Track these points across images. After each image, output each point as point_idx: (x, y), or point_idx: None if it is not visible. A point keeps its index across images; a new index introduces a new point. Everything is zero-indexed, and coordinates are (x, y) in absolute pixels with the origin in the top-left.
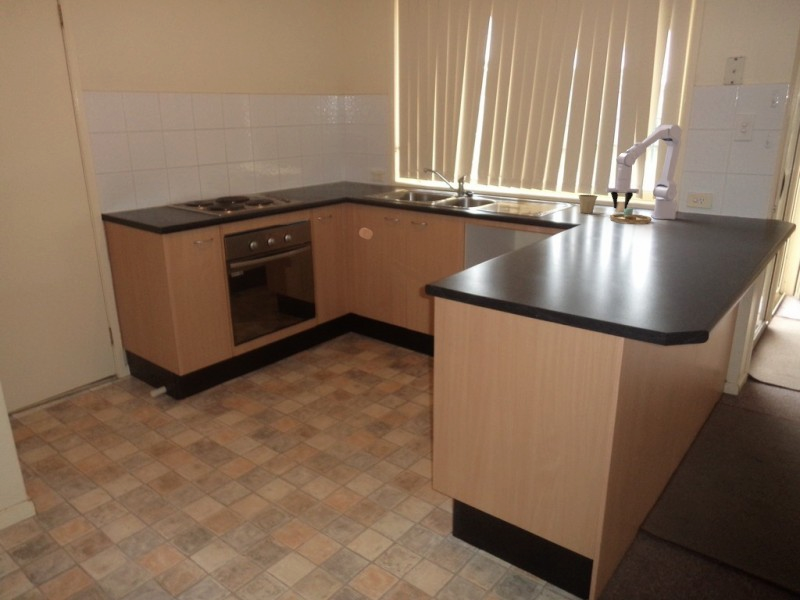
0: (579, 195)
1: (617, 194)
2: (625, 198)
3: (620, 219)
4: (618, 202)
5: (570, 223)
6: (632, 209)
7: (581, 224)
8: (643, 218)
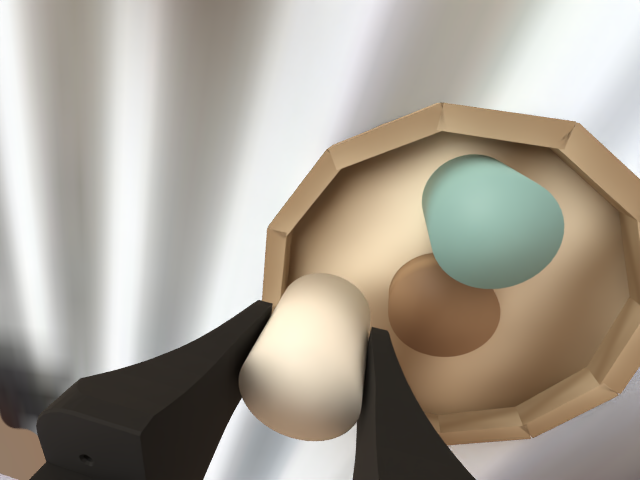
0: None
1: None
2: (369, 435)
3: None
4: (256, 413)
5: (25, 347)
6: (522, 275)
7: (78, 377)
8: (624, 256)
